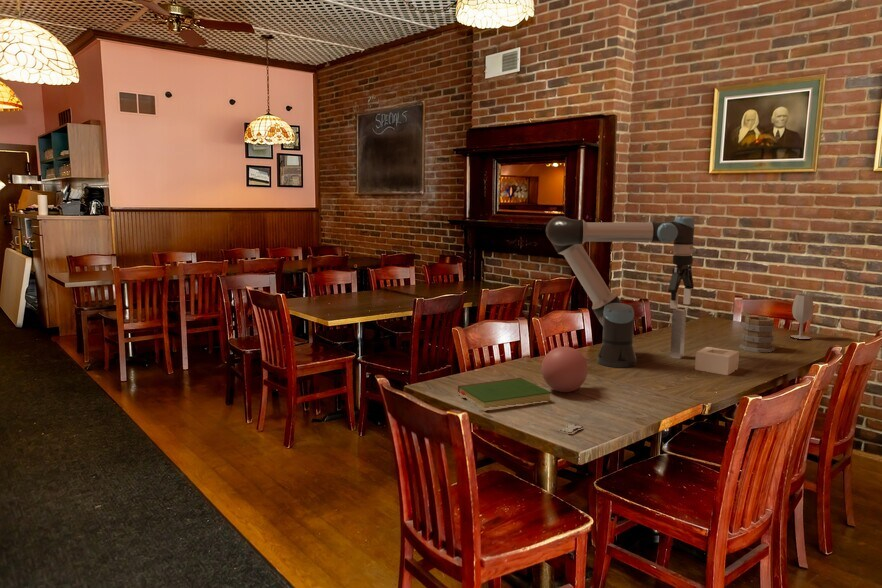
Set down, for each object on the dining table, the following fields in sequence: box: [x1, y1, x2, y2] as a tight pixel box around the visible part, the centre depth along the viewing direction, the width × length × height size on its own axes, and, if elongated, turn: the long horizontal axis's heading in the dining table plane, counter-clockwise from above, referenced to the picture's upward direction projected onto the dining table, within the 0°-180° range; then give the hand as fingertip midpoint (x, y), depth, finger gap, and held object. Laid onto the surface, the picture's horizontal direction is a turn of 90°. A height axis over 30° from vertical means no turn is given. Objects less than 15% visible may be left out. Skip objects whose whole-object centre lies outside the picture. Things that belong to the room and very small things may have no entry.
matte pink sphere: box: [541, 346, 591, 393], centre depth 212 cm, size 15×20×15 cm
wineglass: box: [790, 293, 815, 340], centre depth 293 cm, size 9×9×21 cm
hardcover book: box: [457, 377, 552, 408], centre depth 203 cm, size 25×19×4 cm
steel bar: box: [669, 308, 687, 360], centre depth 257 cm, size 4×4×20 cm
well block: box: [694, 346, 740, 376], centre depth 239 cm, size 12×12×7 cm
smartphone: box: [559, 421, 584, 433], centre depth 179 cm, size 7×1×15 cm
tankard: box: [739, 311, 775, 353], centre depth 275 cm, size 20×13×15 cm, turn 179°
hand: (680, 306), depth 256 cm, fingers open, 13 cm apart
